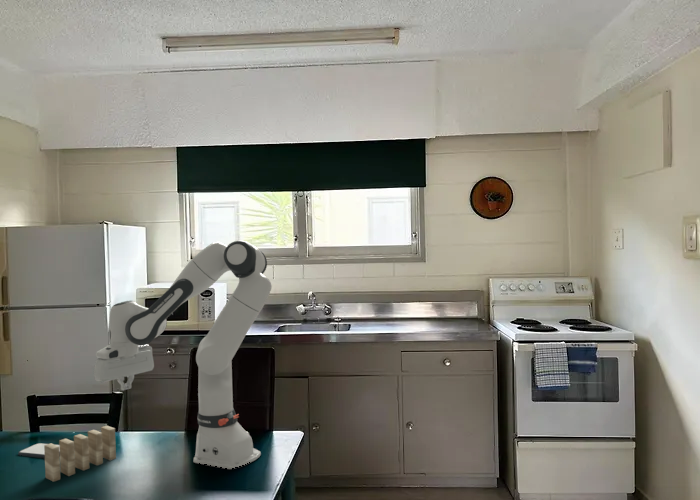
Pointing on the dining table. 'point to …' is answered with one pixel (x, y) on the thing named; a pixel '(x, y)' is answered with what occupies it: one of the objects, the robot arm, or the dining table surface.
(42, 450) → the smartphone
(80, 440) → the tile
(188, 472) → the dining table surface
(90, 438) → the light brown wooden block
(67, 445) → the tile
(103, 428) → the tan rectangular block
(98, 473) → the dining table surface
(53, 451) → the tile
